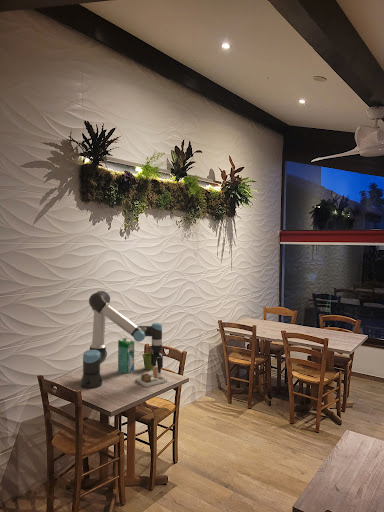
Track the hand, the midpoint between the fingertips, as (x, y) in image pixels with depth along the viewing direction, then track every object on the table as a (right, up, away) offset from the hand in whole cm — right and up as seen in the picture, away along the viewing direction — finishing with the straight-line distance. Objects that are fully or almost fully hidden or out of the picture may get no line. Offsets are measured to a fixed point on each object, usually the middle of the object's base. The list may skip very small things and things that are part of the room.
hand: (156, 375), depth 298 cm
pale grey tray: (-4, -3, -3) cm, 6 cm away
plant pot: (-8, -2, +27) cm, 28 cm away
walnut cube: (-7, -3, -5) cm, 9 cm away
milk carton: (-26, -2, +20) cm, 33 cm away
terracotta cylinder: (0, -1, 0) cm, 1 cm away
